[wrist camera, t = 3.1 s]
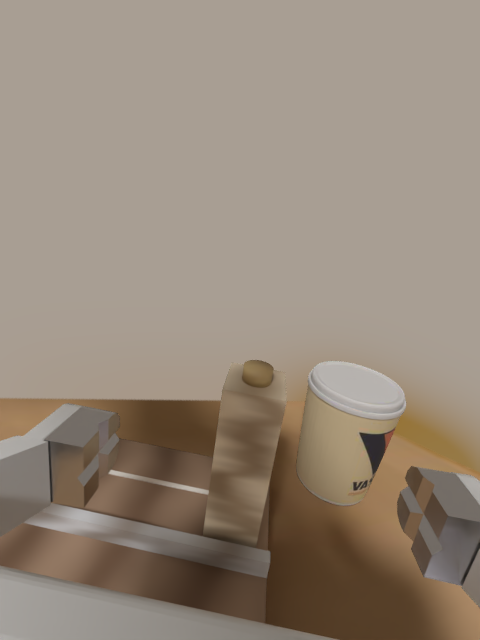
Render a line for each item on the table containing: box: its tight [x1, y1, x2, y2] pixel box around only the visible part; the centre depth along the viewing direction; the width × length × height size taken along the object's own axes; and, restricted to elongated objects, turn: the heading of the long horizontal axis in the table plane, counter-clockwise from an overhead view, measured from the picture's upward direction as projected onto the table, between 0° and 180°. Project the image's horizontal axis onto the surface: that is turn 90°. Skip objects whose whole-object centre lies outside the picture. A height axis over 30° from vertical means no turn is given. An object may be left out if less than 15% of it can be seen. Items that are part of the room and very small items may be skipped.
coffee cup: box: [296, 361, 406, 506], centre depth 32 cm, size 9×9×12 cm
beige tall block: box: [203, 360, 287, 548], centre depth 23 cm, size 4×5×14 cm
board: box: [0, 438, 271, 623], centre depth 26 cm, size 22×14×4 cm, turn 83°
